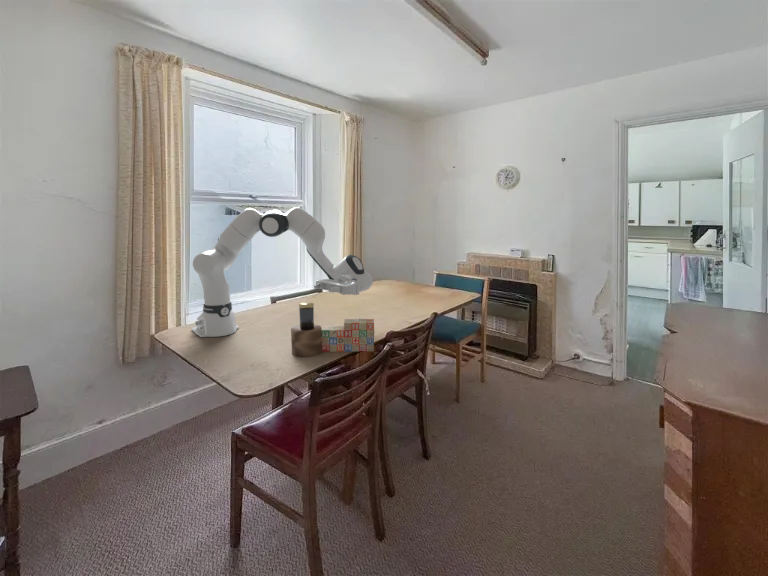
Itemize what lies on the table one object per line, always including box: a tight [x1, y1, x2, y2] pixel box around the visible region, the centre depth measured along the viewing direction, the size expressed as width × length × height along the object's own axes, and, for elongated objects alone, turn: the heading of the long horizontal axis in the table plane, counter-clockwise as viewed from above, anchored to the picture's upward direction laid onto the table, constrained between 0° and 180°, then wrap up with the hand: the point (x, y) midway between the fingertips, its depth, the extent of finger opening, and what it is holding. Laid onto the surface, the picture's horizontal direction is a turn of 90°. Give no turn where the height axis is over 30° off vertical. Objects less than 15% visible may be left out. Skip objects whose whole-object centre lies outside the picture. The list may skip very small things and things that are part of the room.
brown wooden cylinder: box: [290, 323, 323, 358], centre depth 154 cm, size 12×12×10 cm
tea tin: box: [298, 301, 315, 330], centre depth 153 cm, size 6×6×10 cm
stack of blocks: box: [321, 318, 375, 353], centre depth 158 cm, size 21×6×12 cm, turn 93°
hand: (322, 288), depth 162 cm, fingers open, 8 cm apart
